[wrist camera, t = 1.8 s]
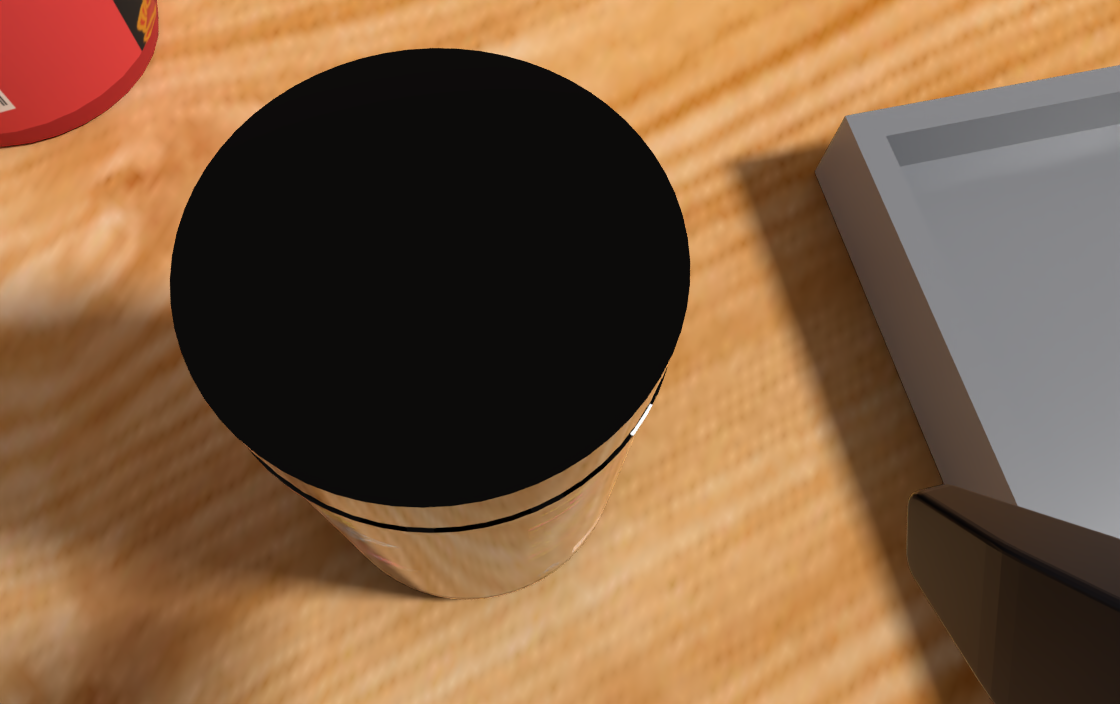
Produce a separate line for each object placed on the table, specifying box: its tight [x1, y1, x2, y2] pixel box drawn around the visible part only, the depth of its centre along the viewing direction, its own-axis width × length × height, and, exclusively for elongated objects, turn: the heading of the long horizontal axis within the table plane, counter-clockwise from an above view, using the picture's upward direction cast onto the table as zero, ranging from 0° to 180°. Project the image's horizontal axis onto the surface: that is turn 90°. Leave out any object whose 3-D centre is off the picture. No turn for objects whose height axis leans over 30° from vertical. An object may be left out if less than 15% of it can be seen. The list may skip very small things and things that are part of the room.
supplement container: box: [170, 48, 690, 599], centre depth 16 cm, size 7×7×10 cm
